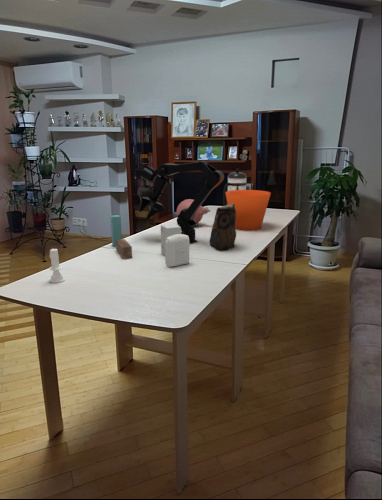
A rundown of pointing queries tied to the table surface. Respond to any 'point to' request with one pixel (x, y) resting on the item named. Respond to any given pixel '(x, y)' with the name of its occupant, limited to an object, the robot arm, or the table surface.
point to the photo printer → (176, 250)
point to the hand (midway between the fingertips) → (143, 215)
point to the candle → (55, 267)
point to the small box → (168, 234)
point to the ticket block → (124, 248)
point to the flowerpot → (248, 208)
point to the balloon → (199, 212)
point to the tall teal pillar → (116, 228)
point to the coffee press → (234, 183)
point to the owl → (224, 228)
